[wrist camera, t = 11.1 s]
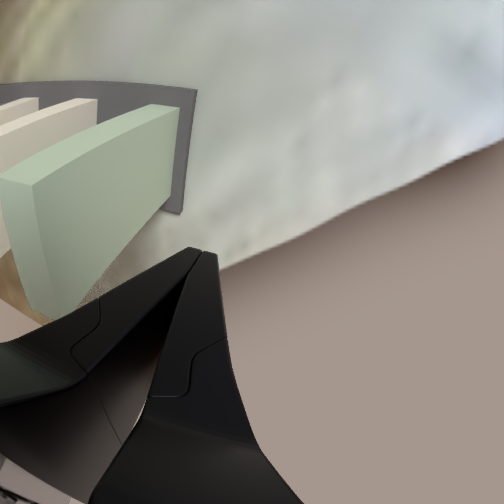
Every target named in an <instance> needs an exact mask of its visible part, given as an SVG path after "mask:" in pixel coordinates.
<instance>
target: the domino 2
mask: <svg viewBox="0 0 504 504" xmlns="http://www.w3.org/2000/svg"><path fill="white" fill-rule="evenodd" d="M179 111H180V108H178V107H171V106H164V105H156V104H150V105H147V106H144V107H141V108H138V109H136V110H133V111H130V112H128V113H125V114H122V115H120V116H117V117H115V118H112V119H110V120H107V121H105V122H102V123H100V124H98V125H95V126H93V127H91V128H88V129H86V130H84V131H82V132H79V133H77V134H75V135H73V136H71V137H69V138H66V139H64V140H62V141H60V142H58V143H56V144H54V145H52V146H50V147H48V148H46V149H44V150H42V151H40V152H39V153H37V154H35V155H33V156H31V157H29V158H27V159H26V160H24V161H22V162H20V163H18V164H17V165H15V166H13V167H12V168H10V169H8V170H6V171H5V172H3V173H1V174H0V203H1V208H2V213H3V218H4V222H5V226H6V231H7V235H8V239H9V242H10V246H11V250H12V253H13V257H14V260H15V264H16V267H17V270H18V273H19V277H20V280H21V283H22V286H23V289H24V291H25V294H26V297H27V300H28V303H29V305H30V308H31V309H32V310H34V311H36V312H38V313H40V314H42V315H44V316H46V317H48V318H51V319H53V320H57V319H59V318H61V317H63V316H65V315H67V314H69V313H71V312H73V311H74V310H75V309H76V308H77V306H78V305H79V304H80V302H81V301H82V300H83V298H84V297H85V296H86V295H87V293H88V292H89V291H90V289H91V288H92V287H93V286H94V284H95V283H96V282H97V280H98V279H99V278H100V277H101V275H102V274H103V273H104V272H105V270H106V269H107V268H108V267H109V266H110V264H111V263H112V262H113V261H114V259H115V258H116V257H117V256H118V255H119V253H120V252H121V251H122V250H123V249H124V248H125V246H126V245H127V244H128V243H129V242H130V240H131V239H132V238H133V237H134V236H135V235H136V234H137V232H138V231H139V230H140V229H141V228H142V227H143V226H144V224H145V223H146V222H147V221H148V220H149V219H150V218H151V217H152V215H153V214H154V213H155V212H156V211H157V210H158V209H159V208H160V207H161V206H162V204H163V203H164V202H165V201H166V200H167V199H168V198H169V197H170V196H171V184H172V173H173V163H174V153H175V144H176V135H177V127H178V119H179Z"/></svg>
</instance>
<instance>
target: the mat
mask: <svg viewBox="0 0 504 504" xmlns="http://www.w3.org/2000/svg"><path fill="white" fill-rule="evenodd" d="M196 95H197V90H195V89H188V88H180V87H172V86H163V85H153V84H141V83H127V82H108V81H44V82H26V83H13V84H2V85H0V106H1V105H4V104H7V103H9V102H12V101H15V100H18V99H21V98H38V97H39V110H42V109H45V108H48V107H51V106H53V105H56V104H59V103H63V102H66V101H69V100H72V99H75V98H84V99H98V102H97V125H98V124H100V123H102V122H105V121H107V120H110V119H112V118H115V117H117V116H120V115H122V114H125V113H128V112H130V111H133V110H136V109H138V108H141V107H144V106H147V105H150V104H156V105H164V106H171V107H178V108H180V111H179V119H178V127H177V135H176V144H175V153H174V163H173V173H172V184H171V196H170V197H169V198H168V199H167V200H166V201H165V202H164V203H163V204H162V206H161V207H160V208H159V209H161V210H165V211H169V212H174V213H178V214H180V213H181V212H182V210H183V199H184V189H185V179H186V170H187V162H188V153H189V145H190V137H191V130H192V123H193V116H194V109H195V102H196Z"/></svg>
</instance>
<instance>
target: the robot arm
mask: <svg viewBox="0 0 504 504" xmlns="http://www.w3.org/2000/svg"><path fill="white" fill-rule="evenodd" d="M145 400H146V402H145ZM144 403H145V406H144V408H143V411H142V414H141V416H140V418H139V420H138V422H137V423H136V425H135V426H134V424H135V422H136V420H137V418H138V415H139V413H140V411H141V409H142V407H143V405H144ZM133 426H134V428H133ZM132 428H133V429H132ZM131 430H132V431H131ZM130 432H131V433H130ZM71 497H72V498H74V499H76V500H78V501H80V502H82V503H84V504H304V503H303V502H302V501H301V500H300V499H299V498H298V496H297V495H296V494H295V493H294V492H293V490H292V489H291V488H290V487H289V485H288V484H287V483H286V482H285V481H284V479H283V478H282V477H281V476H280V475H279V473H278V472H277V471H276V469H275V468H274V467H273V465H272V464H271V463H270V462H269V460H268V459H267V458H266V456H265V455H264V454H263V452H262V451H261V449H260V447H259V445H258V443H257V441H256V439H255V436H254V434H253V432H252V429H251V426H250V423H249V420H248V417H247V414H246V411H245V408H244V405H243V403H242V400H241V396H240V393H239V390H238V387H237V384H236V380H235V376H234V372H233V369H232V364H231V358H230V353H229V346H228V340H227V332H226V324H225V316H224V308H223V299H222V291H221V282H220V273H219V264H218V256H217V254H215V253H211V252H208V251H203V252H202V250H200V249H196V248H192V247H187V248H185V249H184V250H182V251H180V252H178V253H176V254H174V255H173V256H171V257H169V258H167V259H165V260H164V261H162V262H160V263H158V264H156V265H155V266H153V267H151V268H149V269H147V270H146V271H144V272H142V273H140V274H138V275H137V276H135V277H133V278H131V279H130V280H128V281H126V282H124V283H123V284H121V285H119V286H117V287H115V288H114V289H112V290H110V291H109V292H107V293H105V294H103V295H102V296H100V297H99V299H98V298H96V299H94V300H93V301H91V302H89V303H88V304H86V305H84V306H82V307H80V308H79V309H77V310H75V311H73V312H71V313H69V314H67V315H65V316H63V317H61V318H59V319H57V320H55V321H53V322H51V323H49V324H46V325H44V326H42V327H40V328H38V329H36V330H34V331H31V332H29V333H27V334H25V335H23V336H21V337H19V338H16V339H14V340H11V341H8V342H3V343H0V504H69V501H70V499H71Z"/></svg>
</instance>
